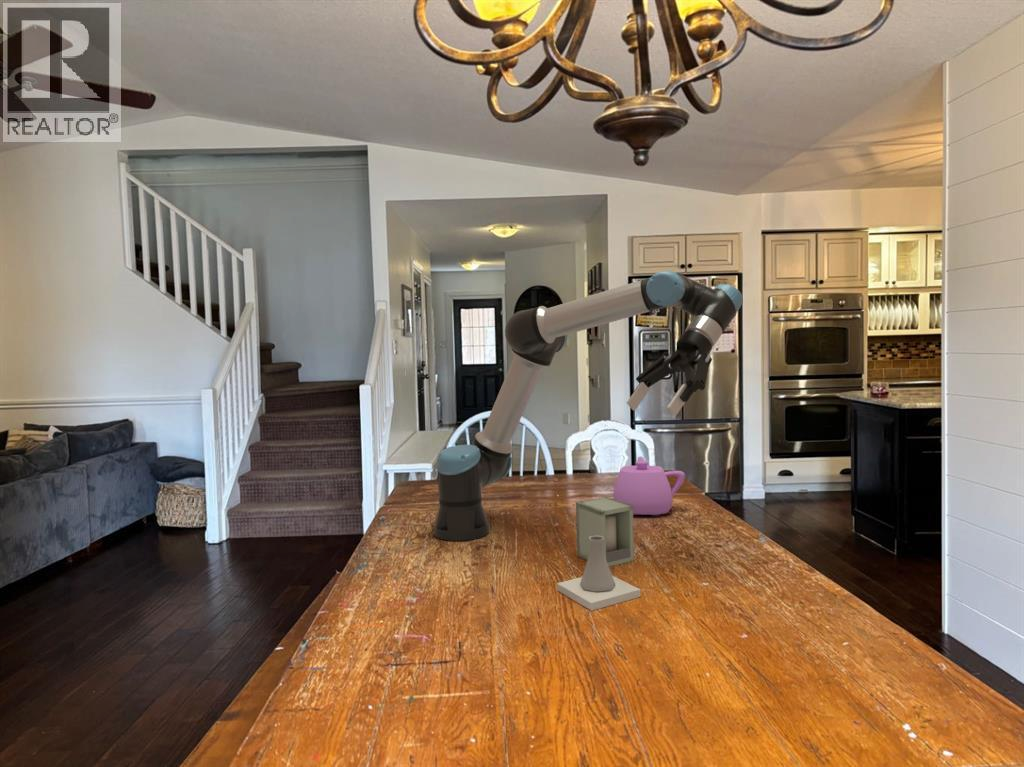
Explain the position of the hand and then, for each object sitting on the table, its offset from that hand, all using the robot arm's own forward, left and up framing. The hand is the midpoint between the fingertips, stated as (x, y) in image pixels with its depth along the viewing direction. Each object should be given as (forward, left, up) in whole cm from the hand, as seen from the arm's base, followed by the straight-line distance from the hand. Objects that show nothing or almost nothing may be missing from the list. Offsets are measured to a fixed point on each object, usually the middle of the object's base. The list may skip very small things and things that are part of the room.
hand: (650, 409), depth 141 cm
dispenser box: (-6, -10, -36) cm, 38 cm away
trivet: (+14, -16, -36) cm, 41 cm away
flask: (+14, -16, -34) cm, 40 cm away
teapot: (-46, +10, -36) cm, 59 cm away
